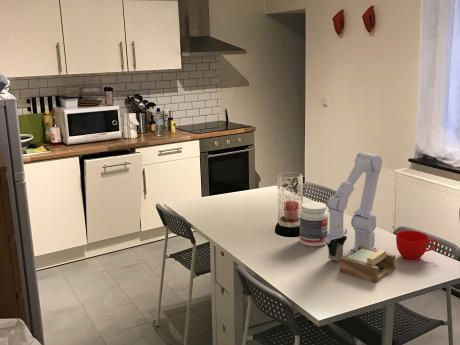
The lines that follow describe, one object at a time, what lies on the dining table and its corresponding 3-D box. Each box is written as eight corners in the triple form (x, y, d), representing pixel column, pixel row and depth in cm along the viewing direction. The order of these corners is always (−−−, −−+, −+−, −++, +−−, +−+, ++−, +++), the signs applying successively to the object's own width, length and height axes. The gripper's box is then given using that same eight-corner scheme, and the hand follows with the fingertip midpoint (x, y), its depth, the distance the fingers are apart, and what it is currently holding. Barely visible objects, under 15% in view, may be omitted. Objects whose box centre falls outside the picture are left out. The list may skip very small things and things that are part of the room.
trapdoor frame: (359, 258, 222) (360, 245, 220) (394, 268, 211) (395, 255, 209) (339, 271, 210) (339, 257, 208) (375, 282, 199) (376, 268, 198)
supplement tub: (329, 247, 234) (330, 209, 230) (301, 248, 235) (301, 209, 230) (325, 237, 247) (325, 200, 242) (298, 237, 247) (298, 201, 243)
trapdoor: (361, 250, 217) (361, 244, 217) (385, 257, 210) (386, 250, 209) (347, 259, 209) (347, 252, 208) (371, 266, 202) (372, 259, 201)
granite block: (333, 255, 223) (334, 242, 222) (342, 257, 220) (343, 244, 219) (328, 258, 220) (328, 245, 218) (337, 261, 217) (337, 247, 216)
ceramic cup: (439, 265, 213) (441, 242, 210) (396, 263, 216) (398, 240, 214) (433, 253, 225) (435, 231, 223) (393, 250, 229) (394, 229, 226)
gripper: (337, 217, 224) (336, 246, 227) (318, 226, 214) (318, 256, 217) (351, 220, 219) (350, 250, 223) (333, 230, 209) (332, 261, 212)
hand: (335, 253), depth 220 cm, fingers closed on granite block, 4 cm apart
